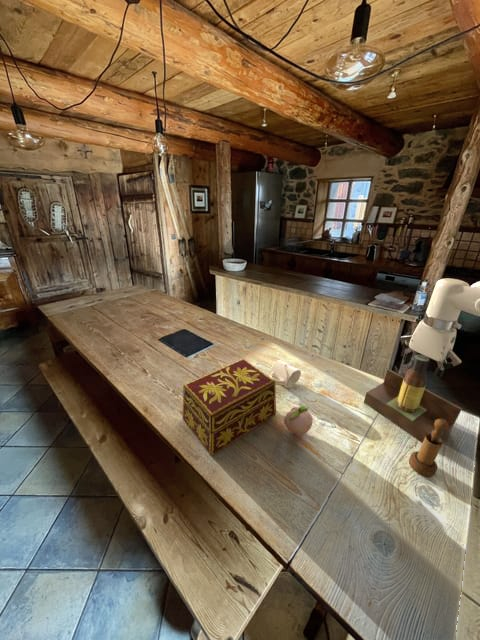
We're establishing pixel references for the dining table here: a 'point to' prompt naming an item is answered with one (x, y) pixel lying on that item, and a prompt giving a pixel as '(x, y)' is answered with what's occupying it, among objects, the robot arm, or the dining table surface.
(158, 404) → the dining table surface
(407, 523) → the dining table surface
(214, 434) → the decorative box
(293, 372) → the mug
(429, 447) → the mortar and pestle
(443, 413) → the shelf
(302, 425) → the decorative fruit
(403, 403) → the sauce bottle
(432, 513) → the dining table surface
